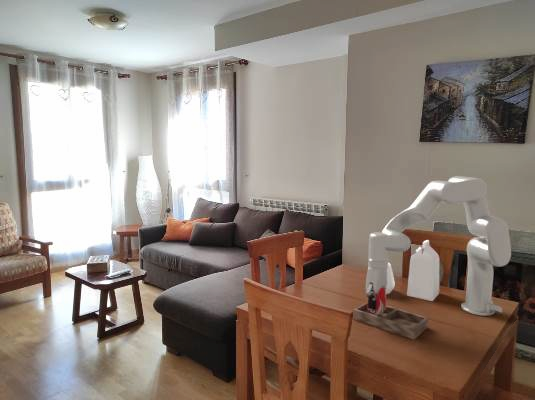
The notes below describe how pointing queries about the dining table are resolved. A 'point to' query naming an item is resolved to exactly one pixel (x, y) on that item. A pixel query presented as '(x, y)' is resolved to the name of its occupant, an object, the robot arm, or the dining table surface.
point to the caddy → (393, 320)
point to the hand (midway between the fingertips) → (376, 305)
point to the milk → (424, 273)
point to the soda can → (379, 302)
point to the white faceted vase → (389, 279)
